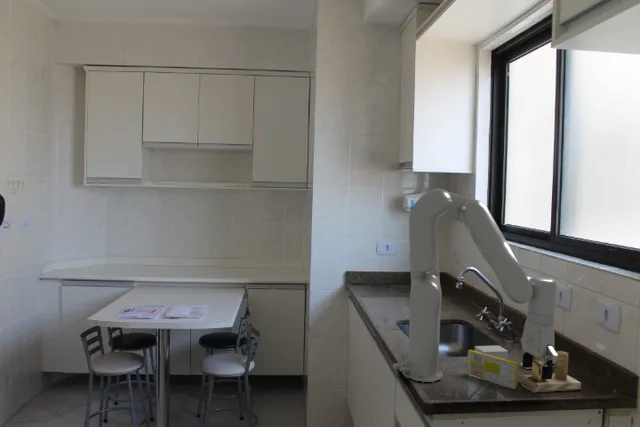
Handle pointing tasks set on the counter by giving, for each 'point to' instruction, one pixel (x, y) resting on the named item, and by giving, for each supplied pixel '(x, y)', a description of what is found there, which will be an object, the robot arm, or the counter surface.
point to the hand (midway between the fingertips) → (536, 372)
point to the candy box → (492, 368)
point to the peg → (537, 371)
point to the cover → (493, 351)
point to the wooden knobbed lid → (531, 367)
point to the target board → (553, 377)
